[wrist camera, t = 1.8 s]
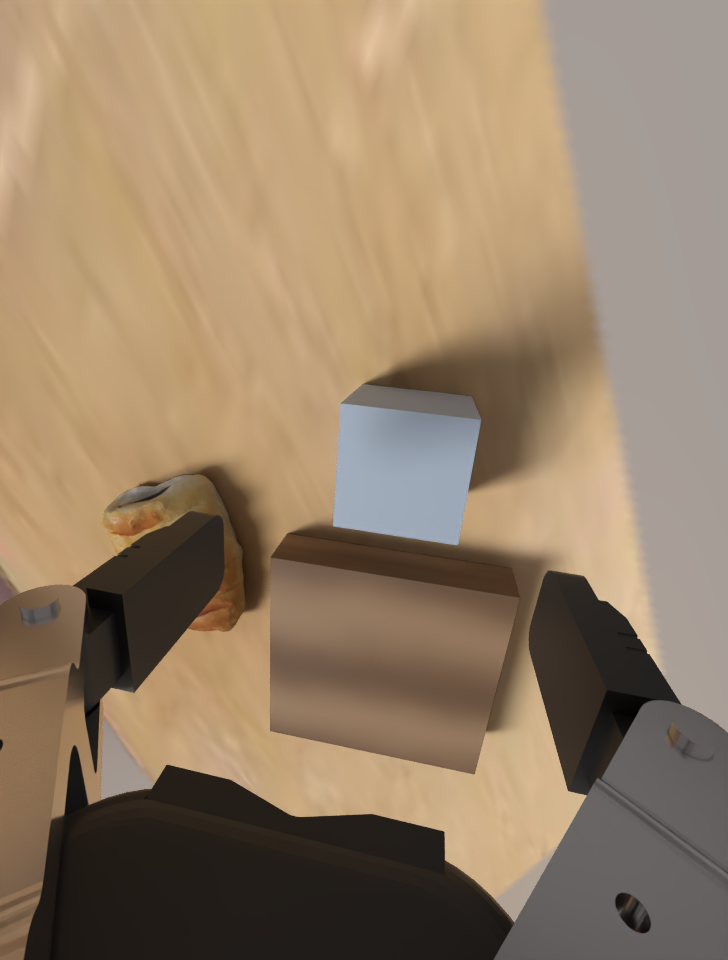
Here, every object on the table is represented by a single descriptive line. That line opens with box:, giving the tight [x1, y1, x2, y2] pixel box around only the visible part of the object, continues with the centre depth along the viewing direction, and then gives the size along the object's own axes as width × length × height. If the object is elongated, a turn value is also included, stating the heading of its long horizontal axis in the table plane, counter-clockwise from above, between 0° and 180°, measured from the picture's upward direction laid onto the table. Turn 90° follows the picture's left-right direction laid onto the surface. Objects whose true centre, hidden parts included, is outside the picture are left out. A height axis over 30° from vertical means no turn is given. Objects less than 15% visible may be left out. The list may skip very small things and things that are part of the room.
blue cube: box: [333, 384, 481, 545], centre depth 18 cm, size 5×5×5 cm
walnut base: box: [270, 534, 520, 774], centre depth 24 cm, size 12×12×3 cm
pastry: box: [101, 474, 246, 632], centre depth 24 cm, size 9×7×4 cm
